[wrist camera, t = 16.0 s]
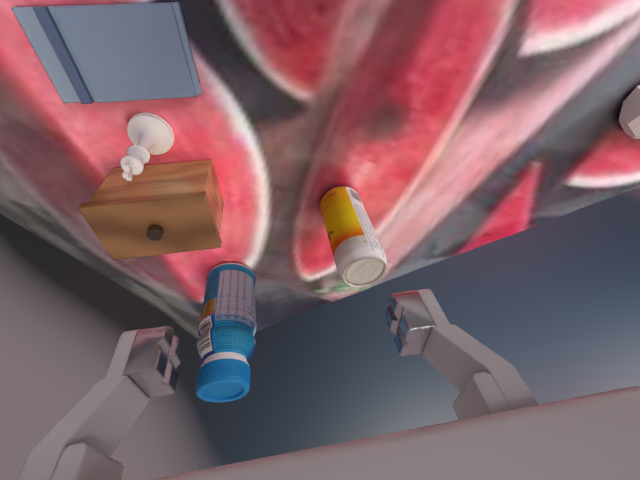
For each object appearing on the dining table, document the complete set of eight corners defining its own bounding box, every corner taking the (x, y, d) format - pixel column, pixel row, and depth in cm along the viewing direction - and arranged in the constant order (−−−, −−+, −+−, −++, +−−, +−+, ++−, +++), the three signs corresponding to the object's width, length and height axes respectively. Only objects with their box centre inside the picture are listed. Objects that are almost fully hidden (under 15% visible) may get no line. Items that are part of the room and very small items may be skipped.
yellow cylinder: (312, 208, 47) (329, 283, 36) (333, 177, 44) (359, 248, 33) (344, 221, 50) (369, 294, 39) (365, 192, 46) (400, 262, 35)
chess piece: (173, 116, 35) (152, 156, 28) (175, 156, 38) (156, 201, 31) (124, 107, 34) (88, 147, 26) (130, 149, 37) (100, 194, 29)
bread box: (108, 165, 38) (73, 214, 30) (213, 157, 39) (203, 201, 32) (134, 214, 43) (109, 266, 35) (226, 205, 44) (220, 253, 37)
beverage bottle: (250, 256, 51) (248, 372, 37) (260, 287, 57) (262, 399, 42) (199, 264, 51) (177, 385, 36) (214, 295, 57) (200, 410, 42)
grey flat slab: (15, 6, 27) (5, 7, 26) (179, 1, 29) (176, 2, 27) (67, 101, 32) (60, 105, 31) (202, 92, 34) (200, 96, 33)
